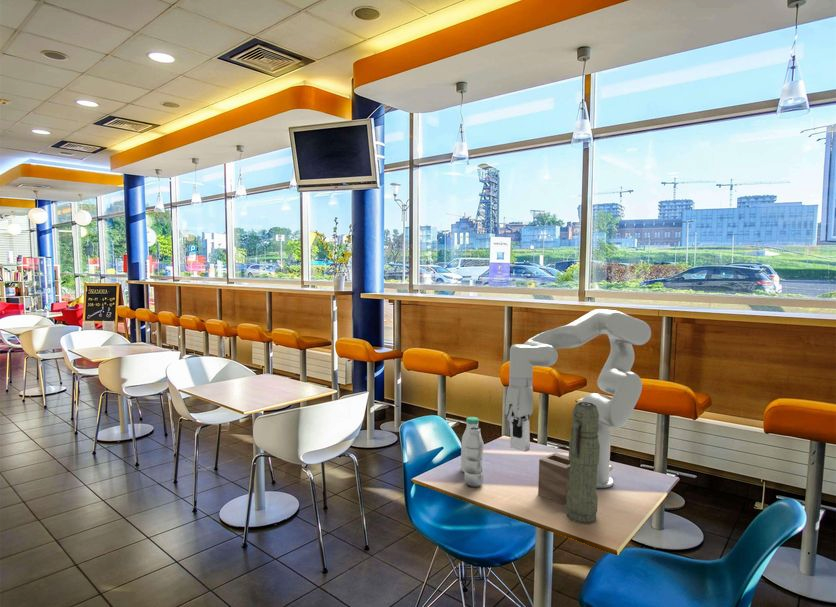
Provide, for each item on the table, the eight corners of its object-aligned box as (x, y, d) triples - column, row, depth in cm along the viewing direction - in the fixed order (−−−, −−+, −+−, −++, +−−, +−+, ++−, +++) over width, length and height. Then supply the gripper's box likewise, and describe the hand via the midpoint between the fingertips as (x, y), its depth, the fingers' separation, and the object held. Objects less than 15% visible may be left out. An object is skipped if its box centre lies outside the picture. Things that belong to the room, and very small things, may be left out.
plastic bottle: (482, 489, 174) (484, 432, 172) (462, 487, 175) (464, 430, 174) (483, 482, 180) (485, 426, 179) (464, 480, 181) (466, 425, 180)
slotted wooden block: (554, 486, 178) (555, 452, 177) (580, 495, 171) (582, 460, 170) (538, 494, 171) (539, 459, 170) (564, 504, 164) (566, 468, 163)
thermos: (558, 518, 154) (563, 404, 152) (576, 505, 163) (580, 398, 161) (586, 528, 148) (591, 410, 146) (603, 515, 157) (608, 403, 155)
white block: (514, 445, 173) (514, 416, 173) (529, 449, 169) (529, 420, 169) (510, 447, 172) (510, 418, 171) (525, 451, 167) (524, 421, 167)
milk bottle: (476, 476, 185) (478, 422, 184) (457, 472, 189) (458, 419, 187) (484, 469, 192) (486, 417, 190) (465, 465, 195) (467, 414, 194)
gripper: (525, 376, 177) (524, 428, 178) (496, 383, 166) (495, 438, 168) (544, 380, 172) (542, 433, 173) (515, 387, 161) (514, 444, 162)
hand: (519, 435), depth 170 cm, fingers closed on white block, 2 cm apart
